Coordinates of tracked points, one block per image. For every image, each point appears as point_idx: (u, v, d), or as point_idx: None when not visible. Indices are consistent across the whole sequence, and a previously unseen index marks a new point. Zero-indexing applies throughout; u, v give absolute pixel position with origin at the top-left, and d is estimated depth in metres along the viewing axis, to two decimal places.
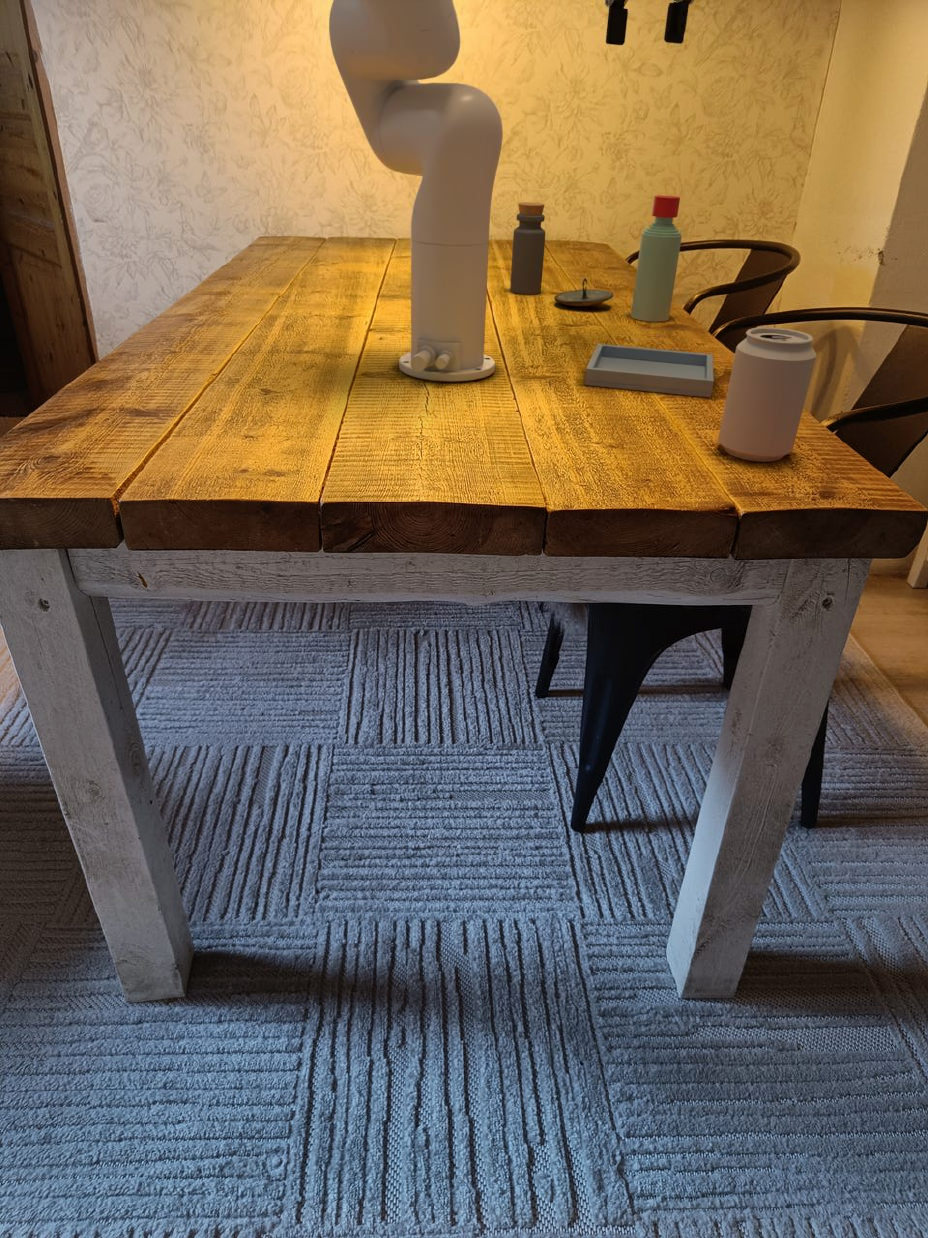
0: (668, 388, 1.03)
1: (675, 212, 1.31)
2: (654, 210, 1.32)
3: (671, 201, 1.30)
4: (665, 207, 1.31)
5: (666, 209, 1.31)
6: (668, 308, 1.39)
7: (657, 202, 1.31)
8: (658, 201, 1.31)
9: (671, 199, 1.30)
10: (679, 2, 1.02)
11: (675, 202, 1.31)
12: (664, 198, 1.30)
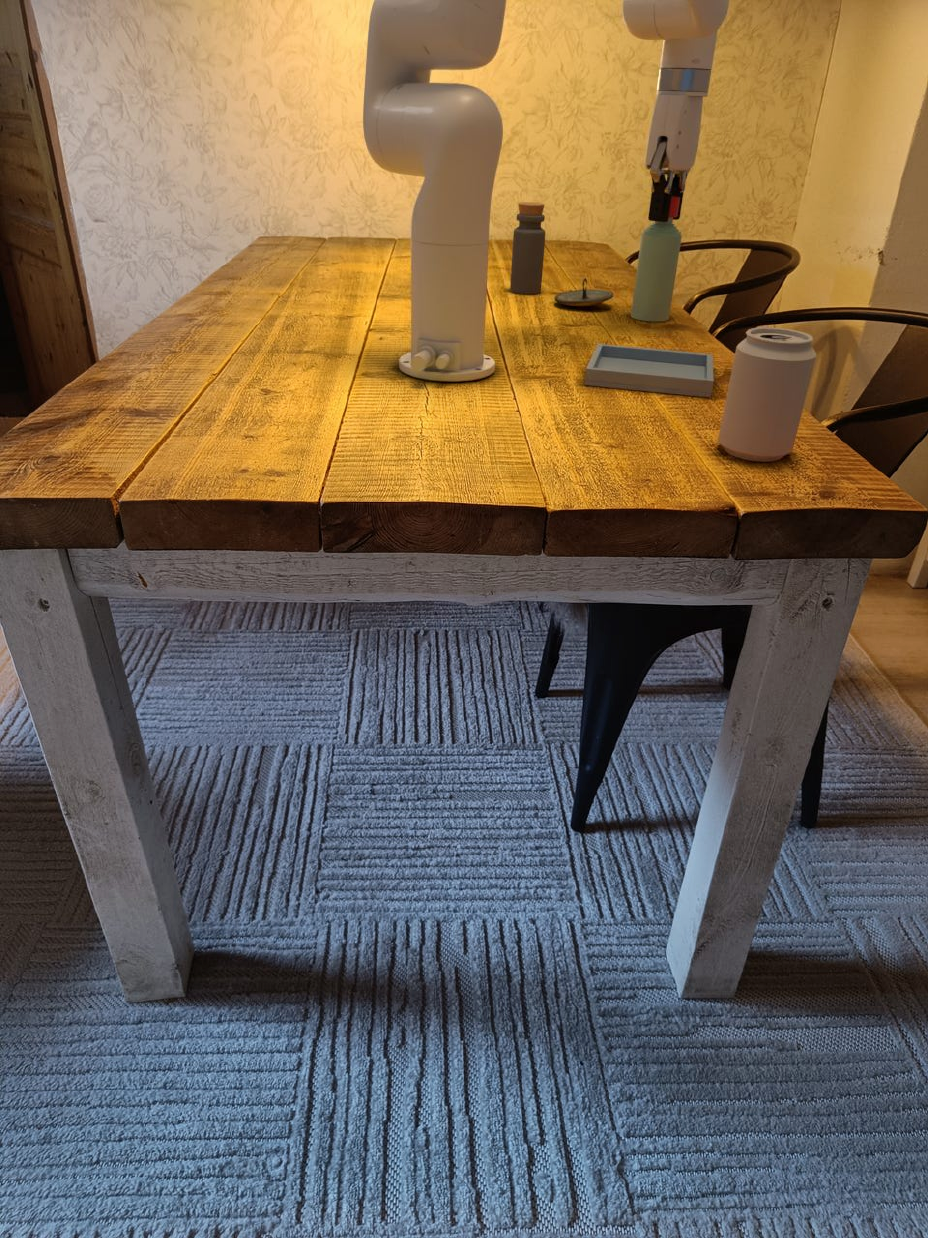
0: (668, 388, 1.03)
1: (675, 212, 1.31)
2: None
3: (671, 201, 1.30)
4: None
5: None
6: (668, 308, 1.39)
7: None
8: None
9: (671, 199, 1.30)
10: (653, 192, 1.29)
11: (675, 202, 1.31)
12: None
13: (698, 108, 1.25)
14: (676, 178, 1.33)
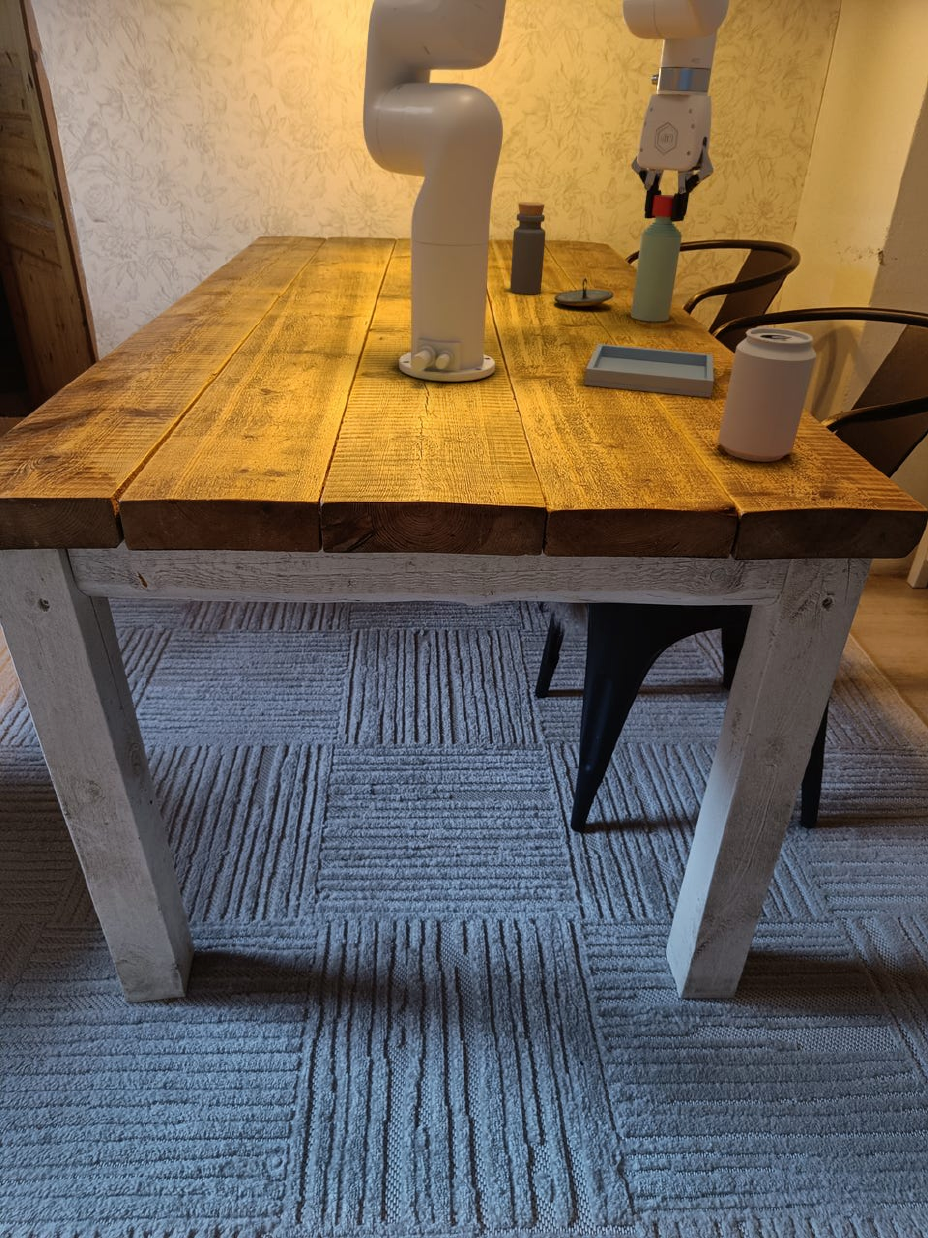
0: (668, 388, 1.03)
1: None
2: None
3: None
4: None
5: None
6: (668, 308, 1.39)
7: None
8: None
9: None
10: (683, 193, 1.29)
11: None
12: None
13: None
14: None
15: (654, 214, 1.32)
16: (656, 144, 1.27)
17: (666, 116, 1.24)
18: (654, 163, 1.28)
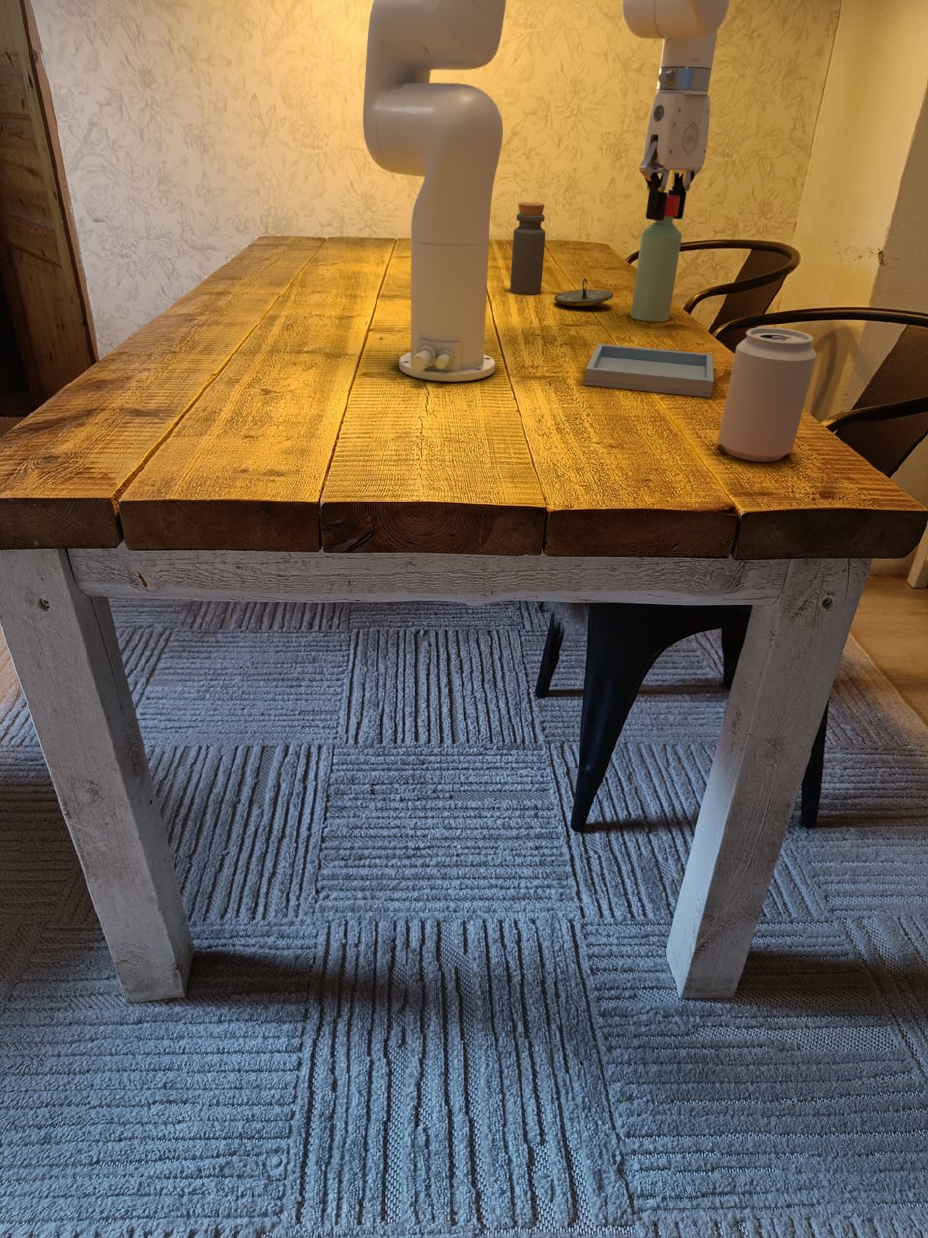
0: (668, 388, 1.03)
1: None
2: None
3: None
4: None
5: None
6: (668, 308, 1.39)
7: None
8: None
9: None
10: (686, 190, 1.32)
11: None
12: None
13: None
14: None
15: (671, 215, 1.31)
16: (683, 145, 1.25)
17: (692, 116, 1.24)
18: (680, 164, 1.27)
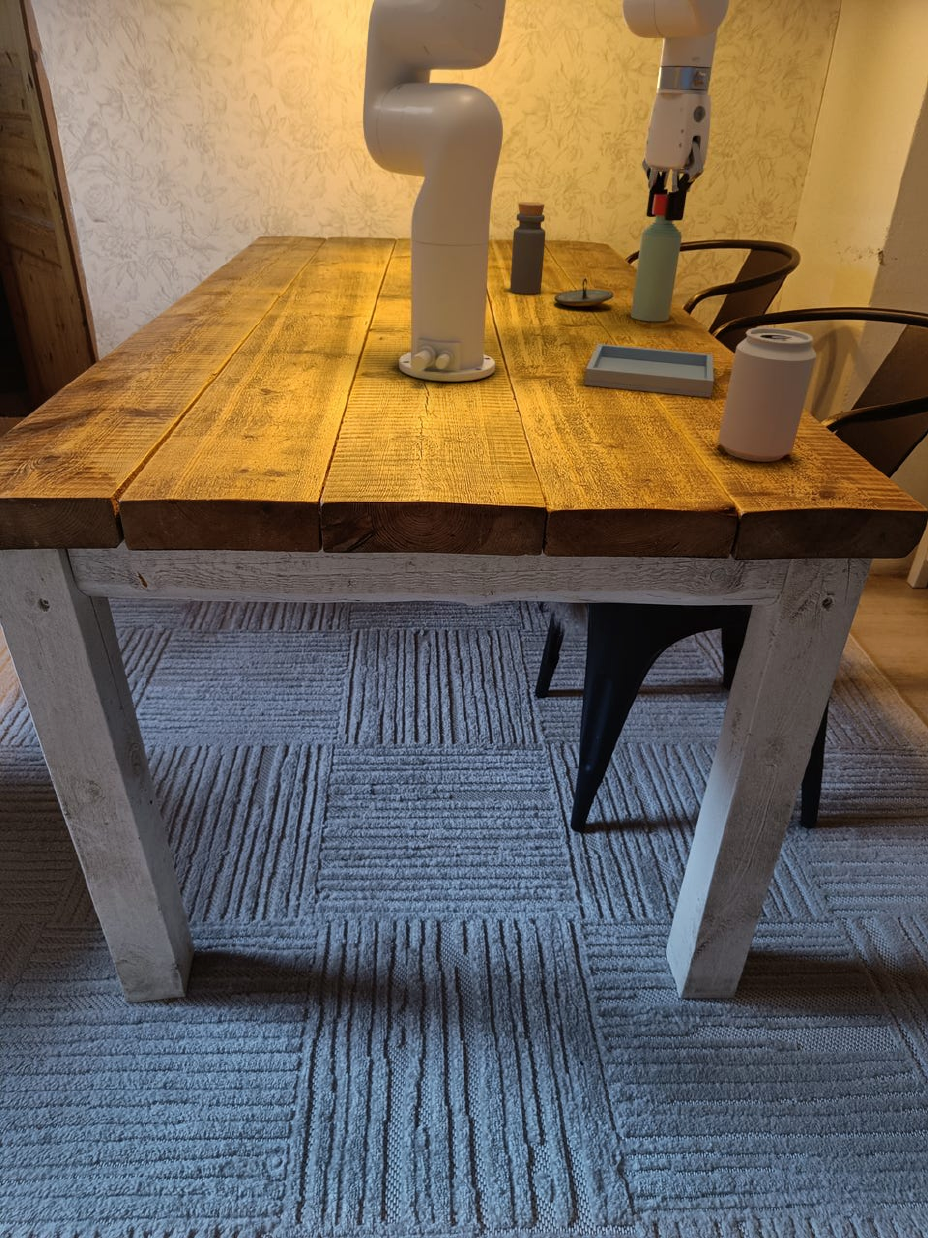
0: (668, 388, 1.03)
1: (653, 209, 1.32)
2: None
3: None
4: None
5: None
6: (668, 308, 1.39)
7: None
8: None
9: (654, 195, 1.32)
10: None
11: (654, 199, 1.32)
12: None
13: (671, 105, 1.23)
14: None
15: None
16: None
17: None
18: None
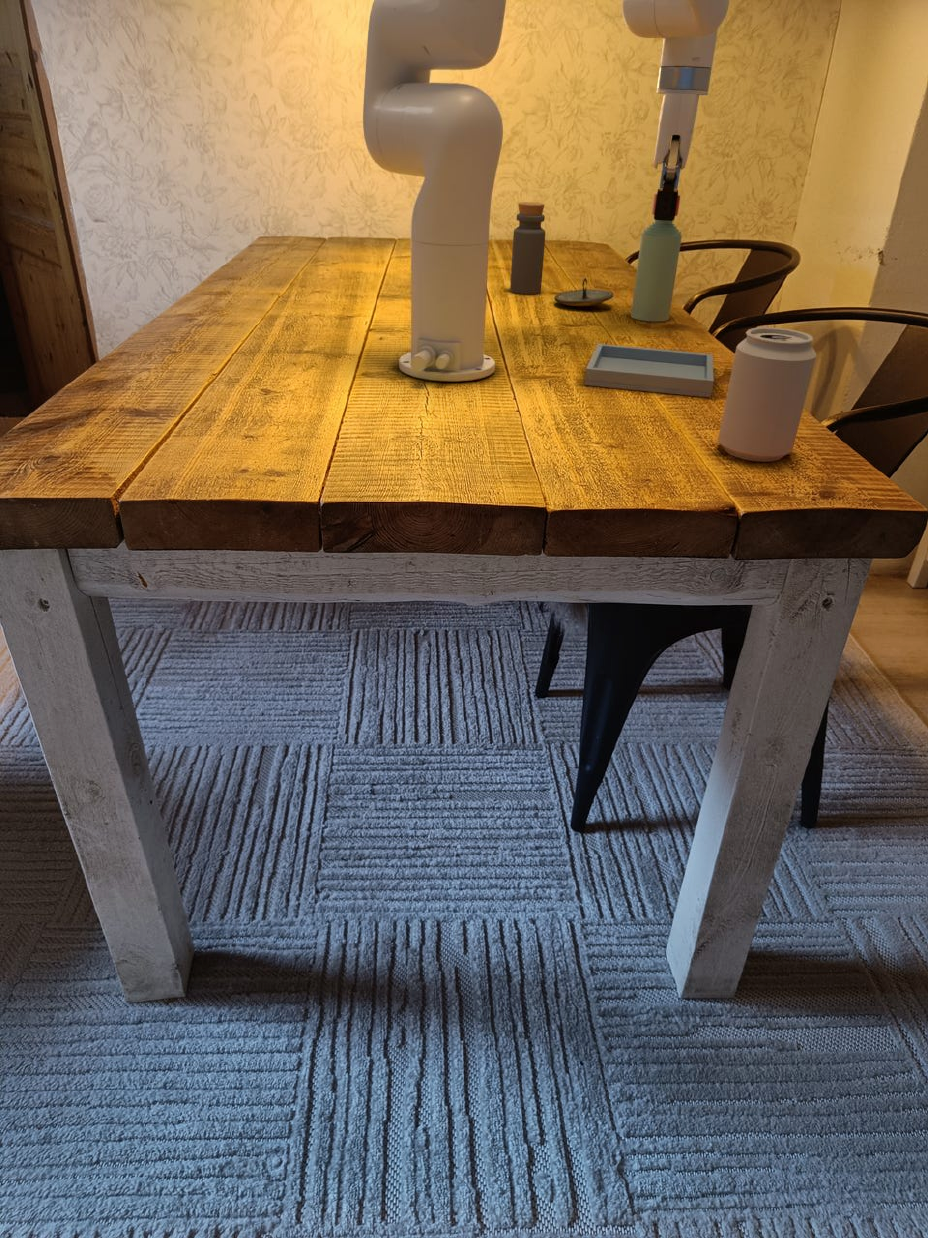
0: (668, 388, 1.03)
1: (677, 210, 1.32)
2: None
3: None
4: None
5: None
6: (668, 308, 1.39)
7: None
8: None
9: None
10: (661, 191, 1.29)
11: (678, 200, 1.31)
12: None
13: None
14: None
15: None
16: None
17: None
18: None
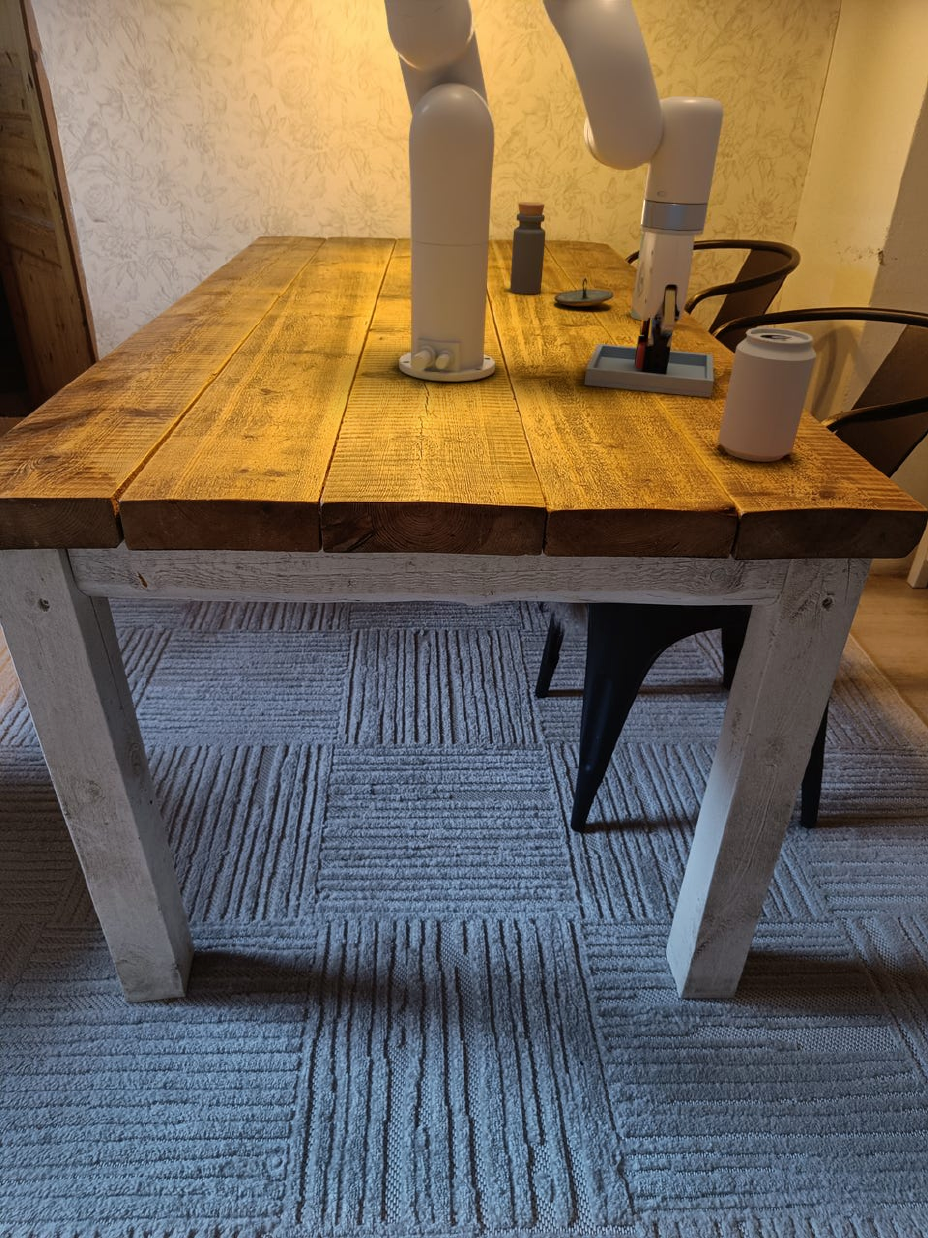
0: (668, 388, 1.03)
1: None
2: None
3: None
4: None
5: None
6: None
7: None
8: None
9: None
10: (650, 346, 1.04)
11: None
12: None
13: None
14: (650, 321, 1.09)
15: None
16: (638, 285, 1.05)
17: (643, 254, 1.02)
18: (635, 306, 1.06)
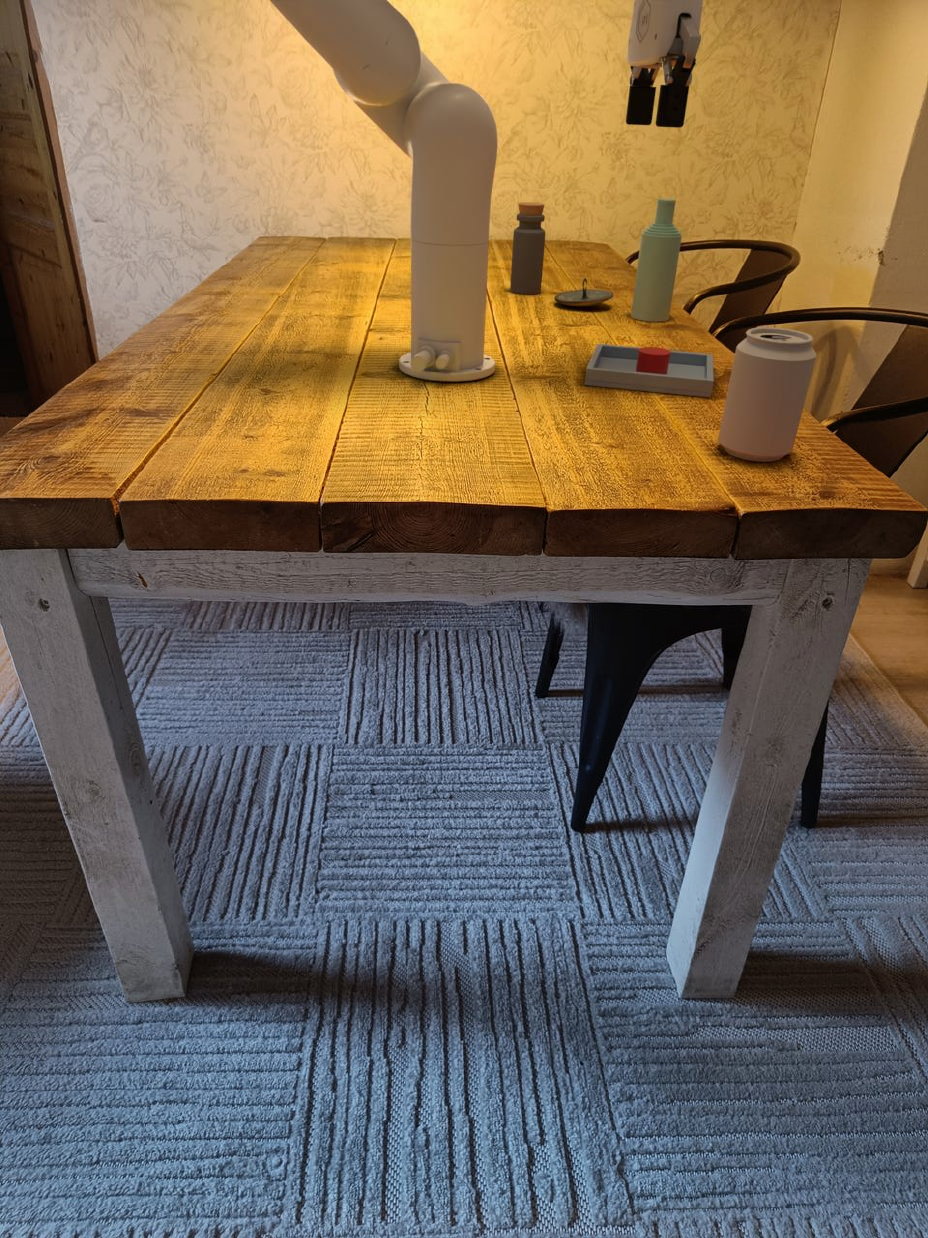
0: (668, 388, 1.03)
1: (667, 368, 1.08)
2: (646, 369, 1.07)
3: (666, 358, 1.07)
4: (661, 365, 1.07)
5: (662, 367, 1.07)
6: (668, 308, 1.39)
7: (650, 360, 1.06)
8: (651, 359, 1.06)
9: (667, 356, 1.06)
10: (669, 84, 0.92)
11: (669, 358, 1.07)
12: (660, 355, 1.06)
13: None
14: None
15: None
16: (637, 30, 0.95)
17: None
18: (634, 57, 0.96)
